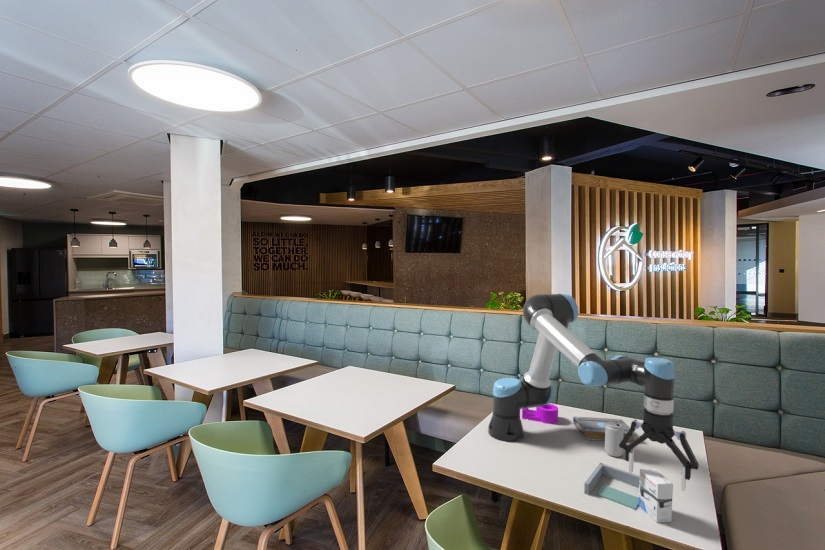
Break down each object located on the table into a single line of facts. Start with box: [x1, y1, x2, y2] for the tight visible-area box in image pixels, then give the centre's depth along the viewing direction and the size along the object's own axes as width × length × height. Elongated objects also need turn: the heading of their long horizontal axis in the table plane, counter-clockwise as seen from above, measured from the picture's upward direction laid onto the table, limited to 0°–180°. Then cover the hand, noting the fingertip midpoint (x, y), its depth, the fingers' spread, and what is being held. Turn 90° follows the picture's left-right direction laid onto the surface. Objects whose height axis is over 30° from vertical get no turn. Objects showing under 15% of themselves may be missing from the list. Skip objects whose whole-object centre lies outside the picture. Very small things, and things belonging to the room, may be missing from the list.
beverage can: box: [604, 421, 624, 458], centre depth 154 cm, size 6×6×12 cm
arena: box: [583, 462, 640, 495], centre depth 129 cm, size 16×17×4 cm
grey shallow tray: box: [572, 416, 638, 443], centre depth 173 cm, size 21×16×5 cm
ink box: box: [638, 468, 674, 523], centre depth 118 cm, size 8×5×12 cm, turn 5°
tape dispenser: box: [521, 403, 559, 425], centre depth 187 cm, size 16×10×6 cm, turn 68°
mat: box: [597, 484, 639, 510], centre depth 126 cm, size 11×7×1 cm, turn 49°
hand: (656, 480), depth 118 cm, fingers open, 13 cm apart
